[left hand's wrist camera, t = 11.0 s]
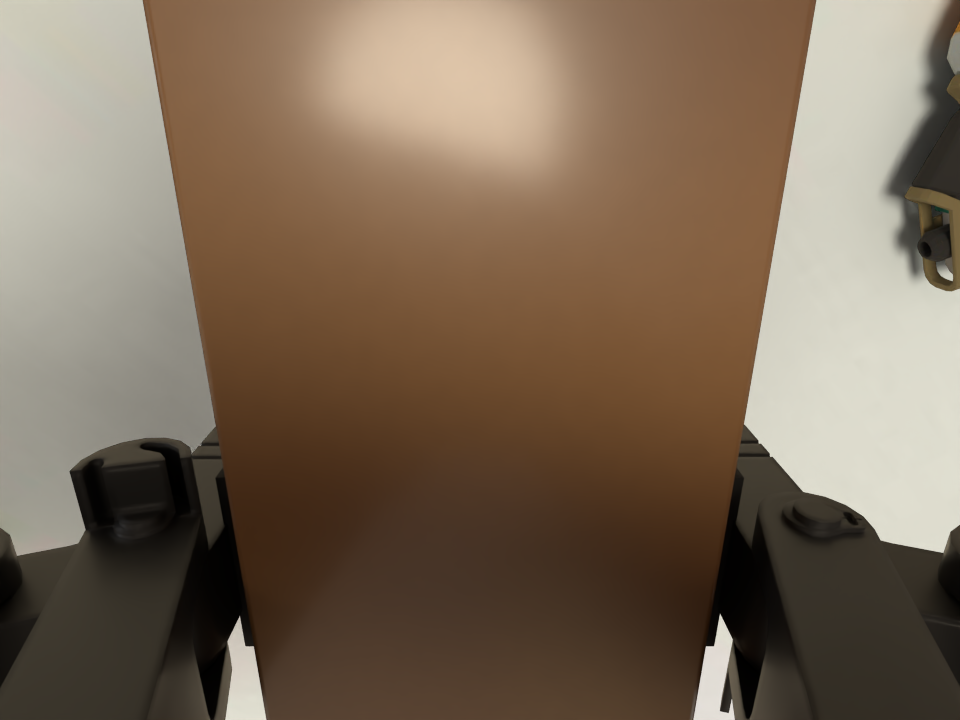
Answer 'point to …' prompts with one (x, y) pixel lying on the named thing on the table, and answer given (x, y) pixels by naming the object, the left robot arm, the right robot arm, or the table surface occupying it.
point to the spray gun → (942, 192)
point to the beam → (479, 333)
